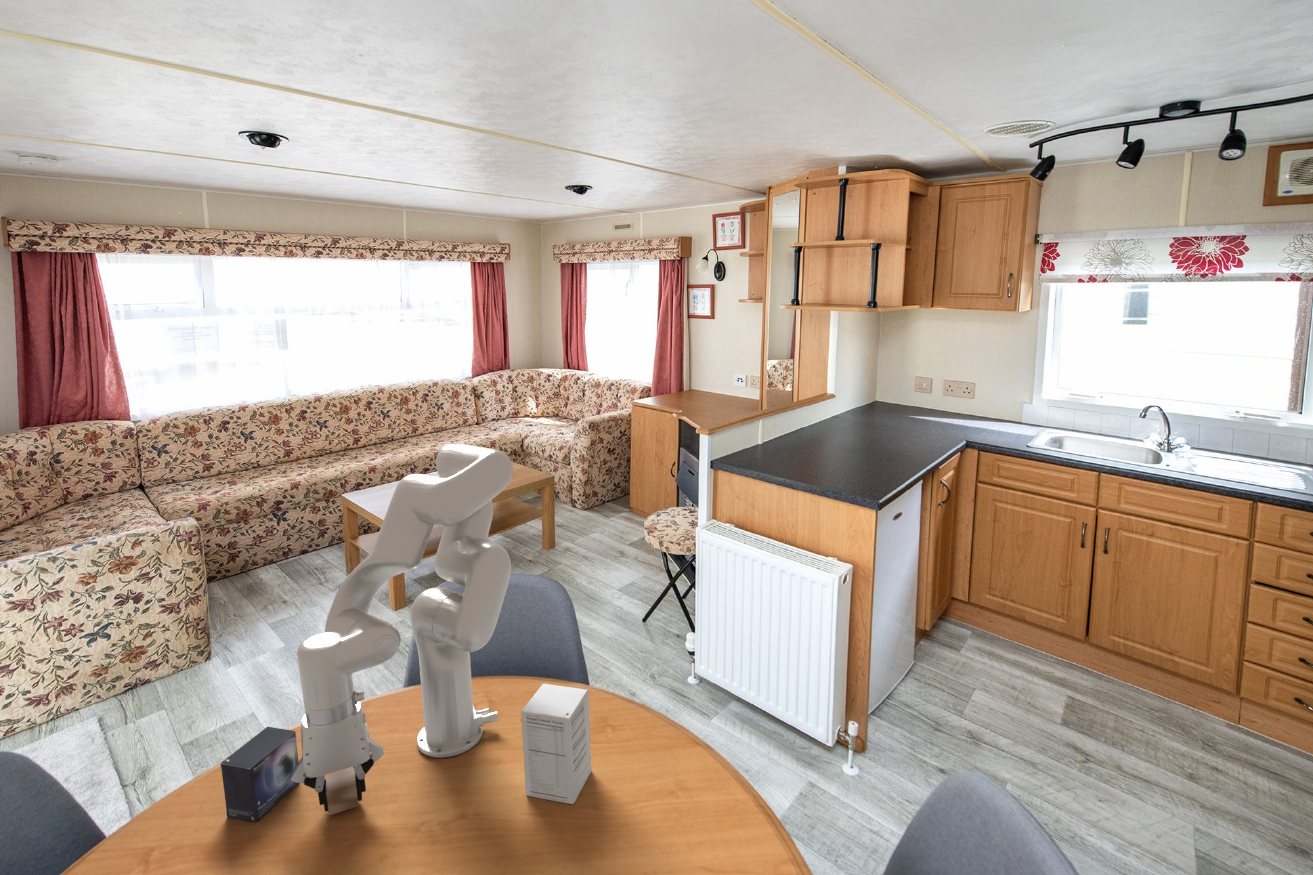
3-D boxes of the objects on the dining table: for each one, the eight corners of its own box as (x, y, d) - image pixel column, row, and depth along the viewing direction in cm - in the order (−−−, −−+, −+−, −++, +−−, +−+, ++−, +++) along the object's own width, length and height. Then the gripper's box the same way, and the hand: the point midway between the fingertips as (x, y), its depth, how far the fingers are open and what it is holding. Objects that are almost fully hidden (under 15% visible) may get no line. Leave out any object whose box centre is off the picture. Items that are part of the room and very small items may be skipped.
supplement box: (593, 770, 121) (590, 688, 118) (574, 806, 113) (571, 718, 110) (545, 761, 124) (542, 681, 121) (524, 795, 115) (519, 710, 112)
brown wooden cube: (357, 788, 115) (354, 766, 114) (358, 806, 111) (355, 783, 110) (329, 797, 113) (326, 775, 112) (329, 815, 109) (325, 792, 108)
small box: (258, 824, 109) (250, 768, 107) (225, 818, 110) (217, 763, 108) (303, 780, 119) (297, 729, 117) (273, 775, 121) (266, 725, 119)
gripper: (383, 681, 115) (394, 771, 119) (274, 708, 108) (289, 802, 112) (386, 704, 109) (397, 798, 112) (270, 734, 102) (286, 833, 105)
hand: (343, 799), depth 112 cm, fingers closed on brown wooden cube, 4 cm apart
